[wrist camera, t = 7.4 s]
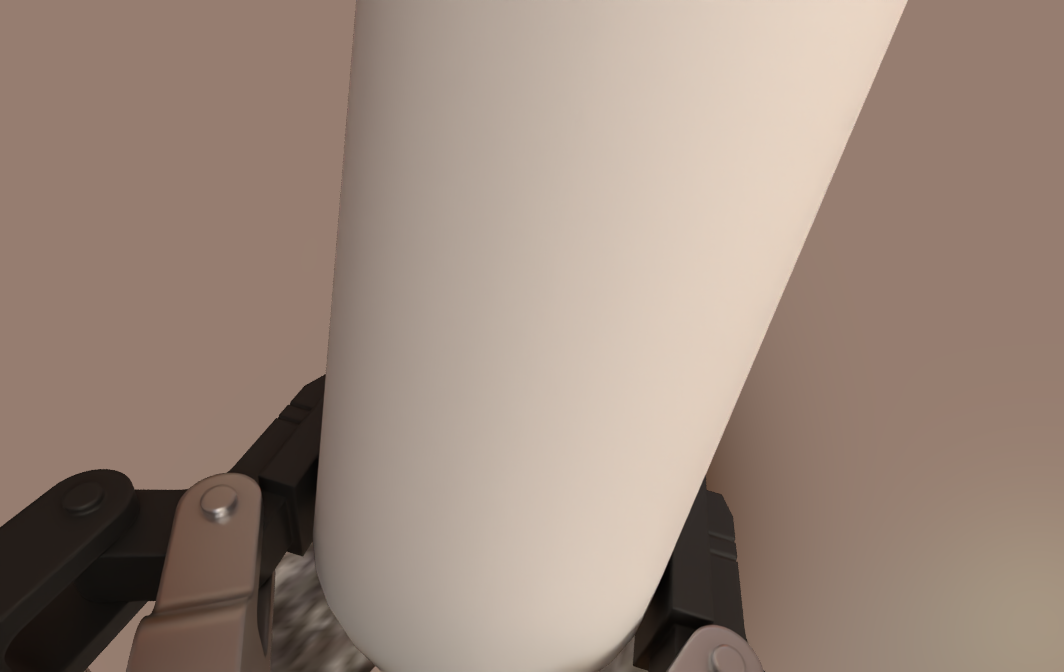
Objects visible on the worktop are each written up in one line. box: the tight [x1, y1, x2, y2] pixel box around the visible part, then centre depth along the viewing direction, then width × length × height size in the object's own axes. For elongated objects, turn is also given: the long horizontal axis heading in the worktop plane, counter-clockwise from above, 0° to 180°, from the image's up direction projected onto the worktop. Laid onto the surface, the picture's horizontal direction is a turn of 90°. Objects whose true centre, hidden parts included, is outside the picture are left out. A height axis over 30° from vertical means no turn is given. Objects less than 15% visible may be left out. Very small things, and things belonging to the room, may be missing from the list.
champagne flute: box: [313, 0, 908, 672], centre depth 11 cm, size 7×7×24 cm
